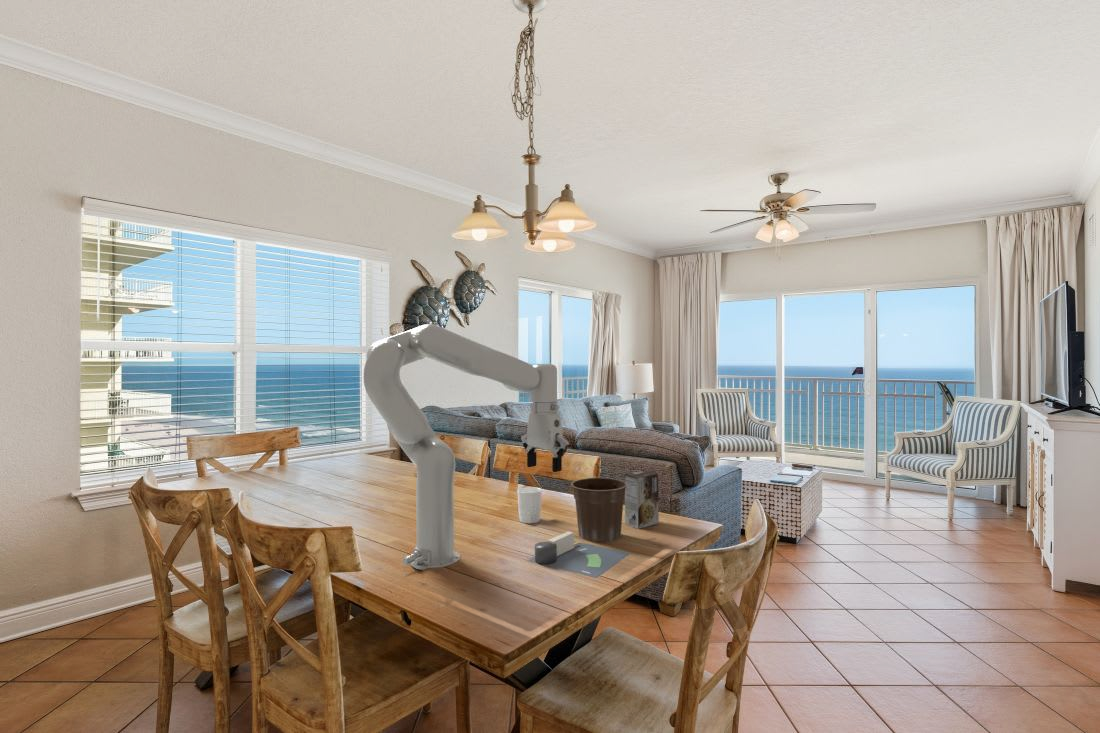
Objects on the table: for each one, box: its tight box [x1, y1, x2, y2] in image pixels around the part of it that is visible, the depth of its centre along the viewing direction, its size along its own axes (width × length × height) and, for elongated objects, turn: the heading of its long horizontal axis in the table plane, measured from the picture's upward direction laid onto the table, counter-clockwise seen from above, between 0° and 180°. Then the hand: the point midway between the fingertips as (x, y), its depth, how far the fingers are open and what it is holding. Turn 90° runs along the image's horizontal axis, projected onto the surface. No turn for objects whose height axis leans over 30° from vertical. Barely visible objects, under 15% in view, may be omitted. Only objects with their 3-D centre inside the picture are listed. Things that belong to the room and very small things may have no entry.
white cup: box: [517, 486, 543, 524], centre depth 176 cm, size 8×8×10 cm
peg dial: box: [534, 530, 580, 564], centre depth 144 cm, size 17×6×4 cm, turn 142°
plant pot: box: [570, 477, 627, 543], centre depth 159 cm, size 16×16×16 cm
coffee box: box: [624, 469, 660, 530], centre depth 172 cm, size 9×6×16 cm
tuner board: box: [527, 540, 631, 579], centre depth 142 cm, size 19×20×1 cm
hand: (544, 468), depth 153 cm, fingers open, 9 cm apart
